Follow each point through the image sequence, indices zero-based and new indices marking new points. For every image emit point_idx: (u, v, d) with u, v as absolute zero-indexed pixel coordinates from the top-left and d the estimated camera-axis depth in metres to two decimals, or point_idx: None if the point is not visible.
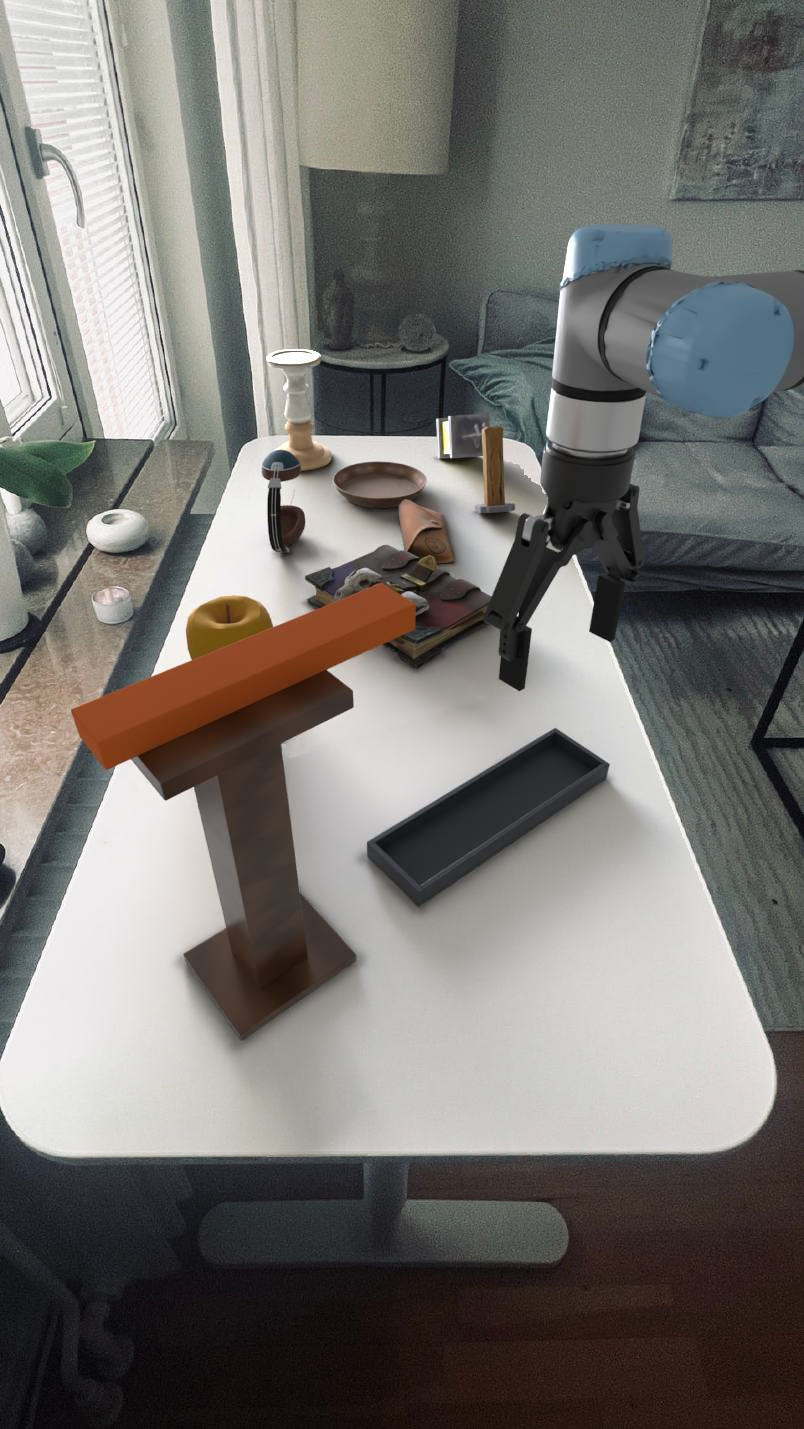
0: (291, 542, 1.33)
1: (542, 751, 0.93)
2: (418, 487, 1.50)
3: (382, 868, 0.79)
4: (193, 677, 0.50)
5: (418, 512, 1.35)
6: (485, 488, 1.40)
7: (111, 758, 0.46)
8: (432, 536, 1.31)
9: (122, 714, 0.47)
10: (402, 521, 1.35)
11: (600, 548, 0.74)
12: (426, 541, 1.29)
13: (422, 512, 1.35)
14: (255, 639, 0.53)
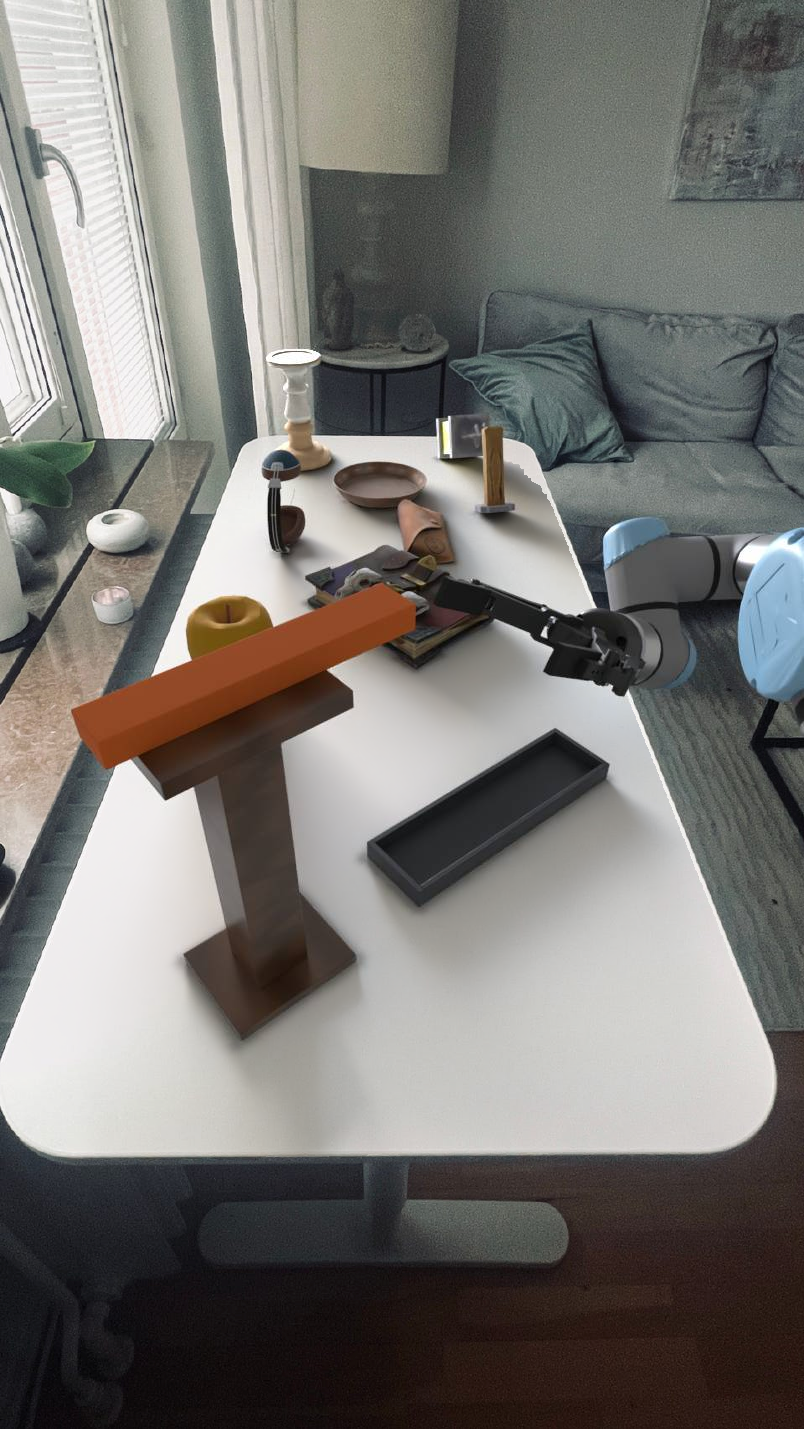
0: (291, 542, 1.33)
1: (542, 751, 0.93)
2: (418, 487, 1.50)
3: (382, 868, 0.79)
4: (193, 677, 0.50)
5: (417, 512, 1.35)
6: (485, 488, 1.40)
7: (111, 758, 0.46)
8: (432, 536, 1.31)
9: (122, 714, 0.47)
10: (401, 521, 1.35)
11: None
12: (426, 541, 1.29)
13: (422, 512, 1.35)
14: (255, 639, 0.53)
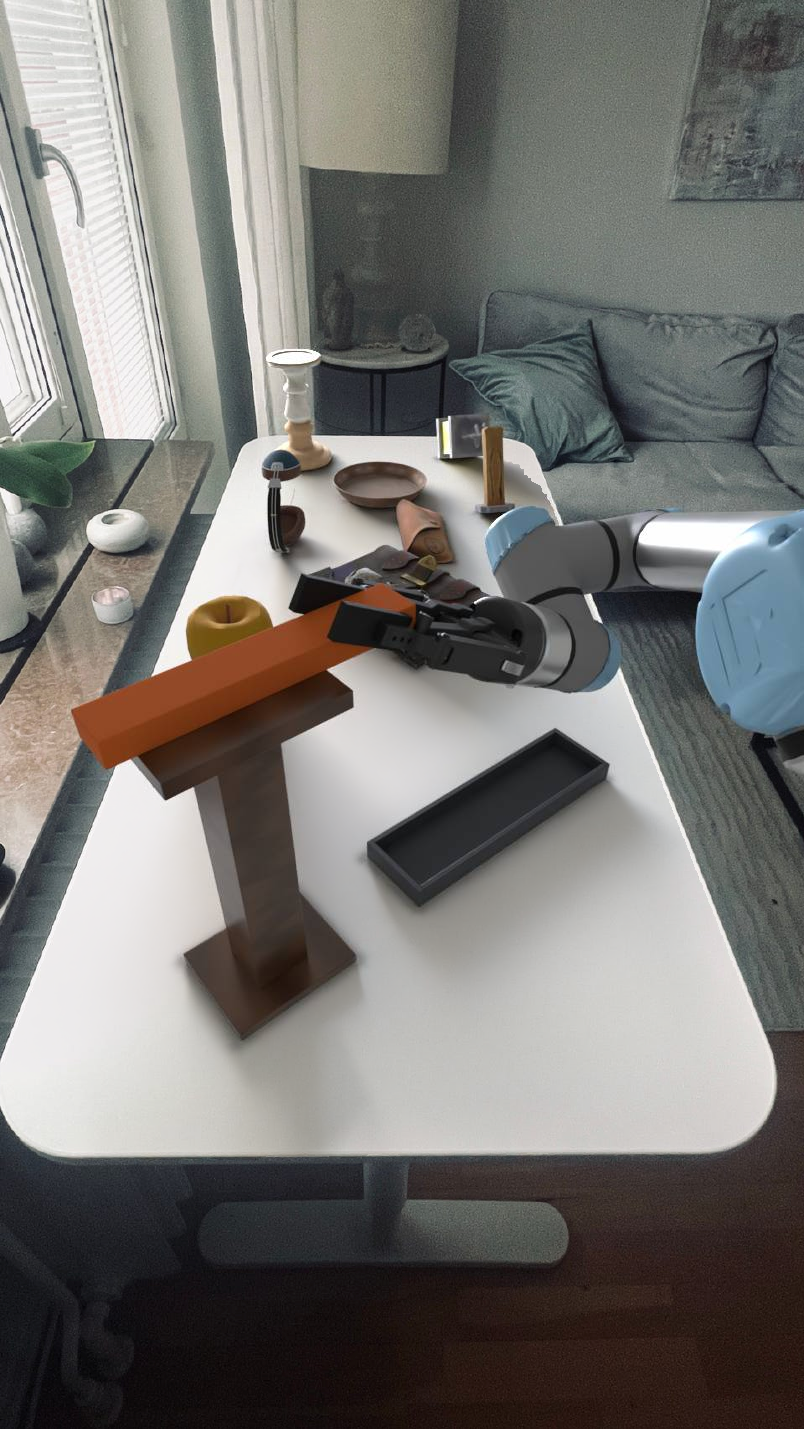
0: (291, 542, 1.33)
1: (542, 751, 0.93)
2: (418, 487, 1.50)
3: (382, 868, 0.79)
4: (193, 677, 0.50)
5: (416, 512, 1.35)
6: (485, 488, 1.40)
7: (111, 758, 0.46)
8: (431, 536, 1.31)
9: (122, 714, 0.47)
10: (400, 521, 1.35)
11: None
12: (425, 541, 1.29)
13: (421, 512, 1.35)
14: (255, 639, 0.53)
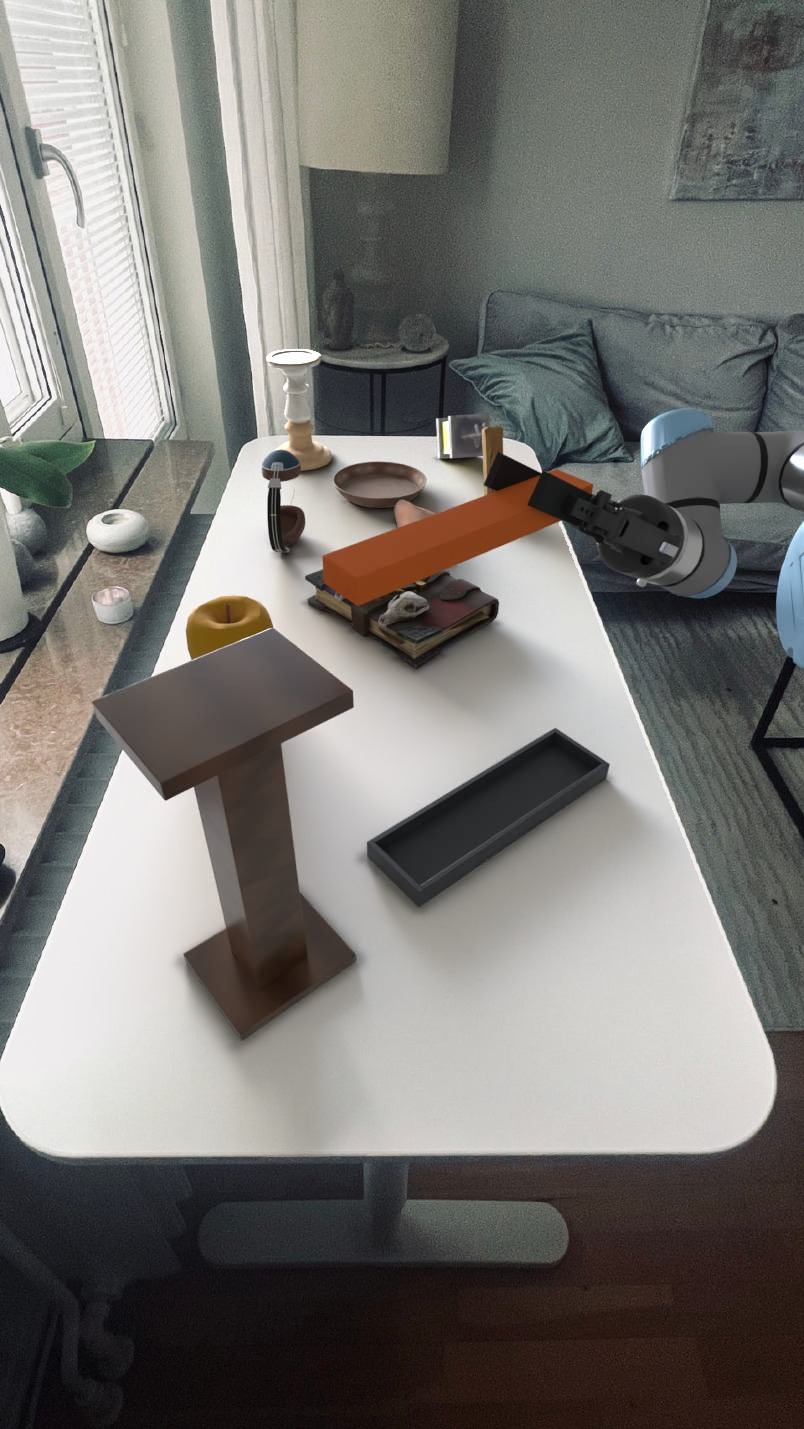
0: (291, 542, 1.33)
1: (542, 751, 0.93)
2: (418, 487, 1.50)
3: (382, 868, 0.79)
4: (419, 534, 0.57)
5: (415, 512, 1.35)
6: (485, 488, 1.40)
7: (363, 595, 0.53)
8: None
9: (369, 559, 0.54)
10: (399, 521, 1.35)
11: None
12: None
13: (419, 512, 1.35)
14: (461, 508, 0.60)
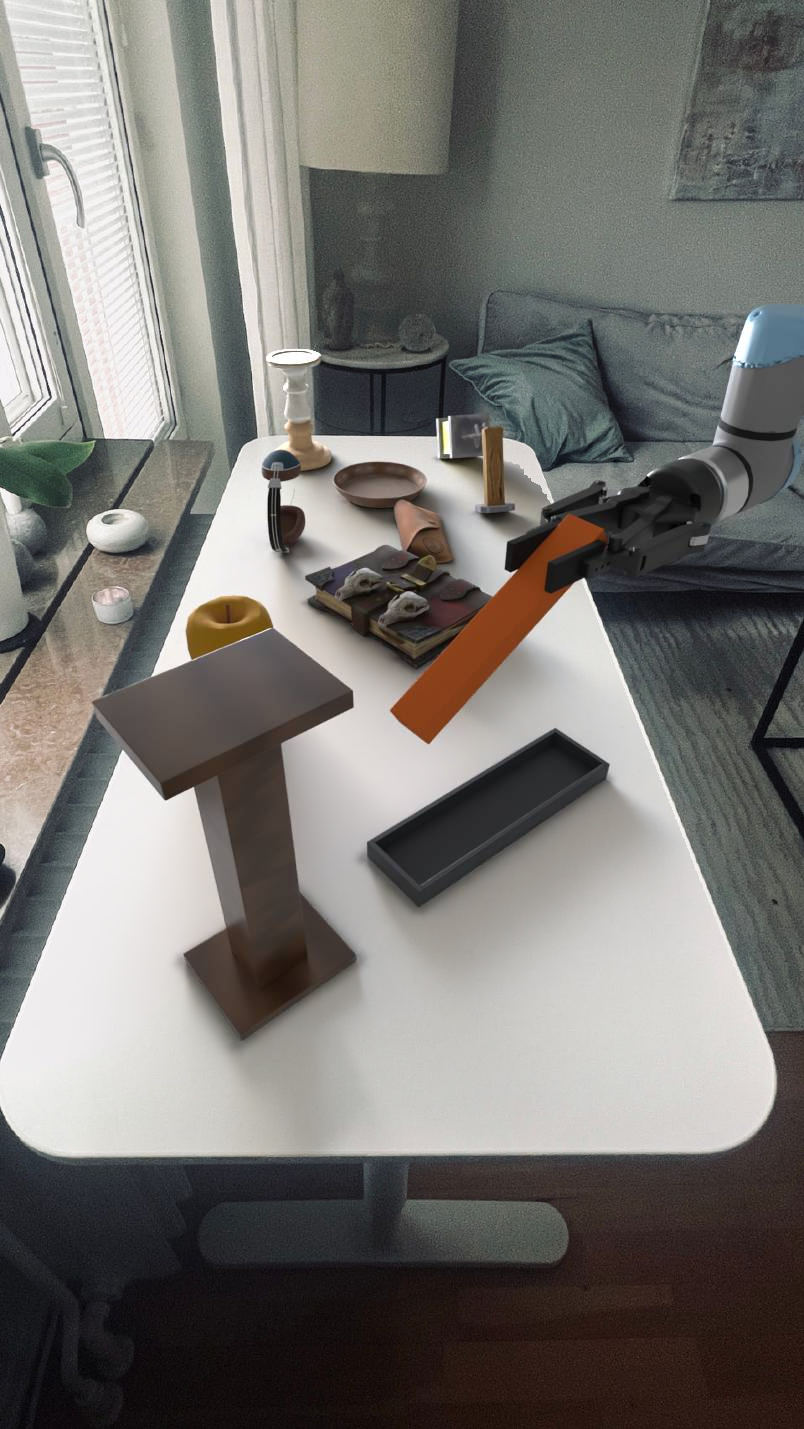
0: (291, 542, 1.33)
1: (542, 751, 0.93)
2: (418, 487, 1.50)
3: (382, 868, 0.79)
4: (459, 658, 0.67)
5: (414, 512, 1.35)
6: (485, 488, 1.40)
7: (429, 737, 0.67)
8: (430, 536, 1.31)
9: (425, 705, 0.67)
10: (399, 521, 1.35)
11: None
12: (424, 541, 1.29)
13: (419, 512, 1.35)
14: (489, 607, 0.69)
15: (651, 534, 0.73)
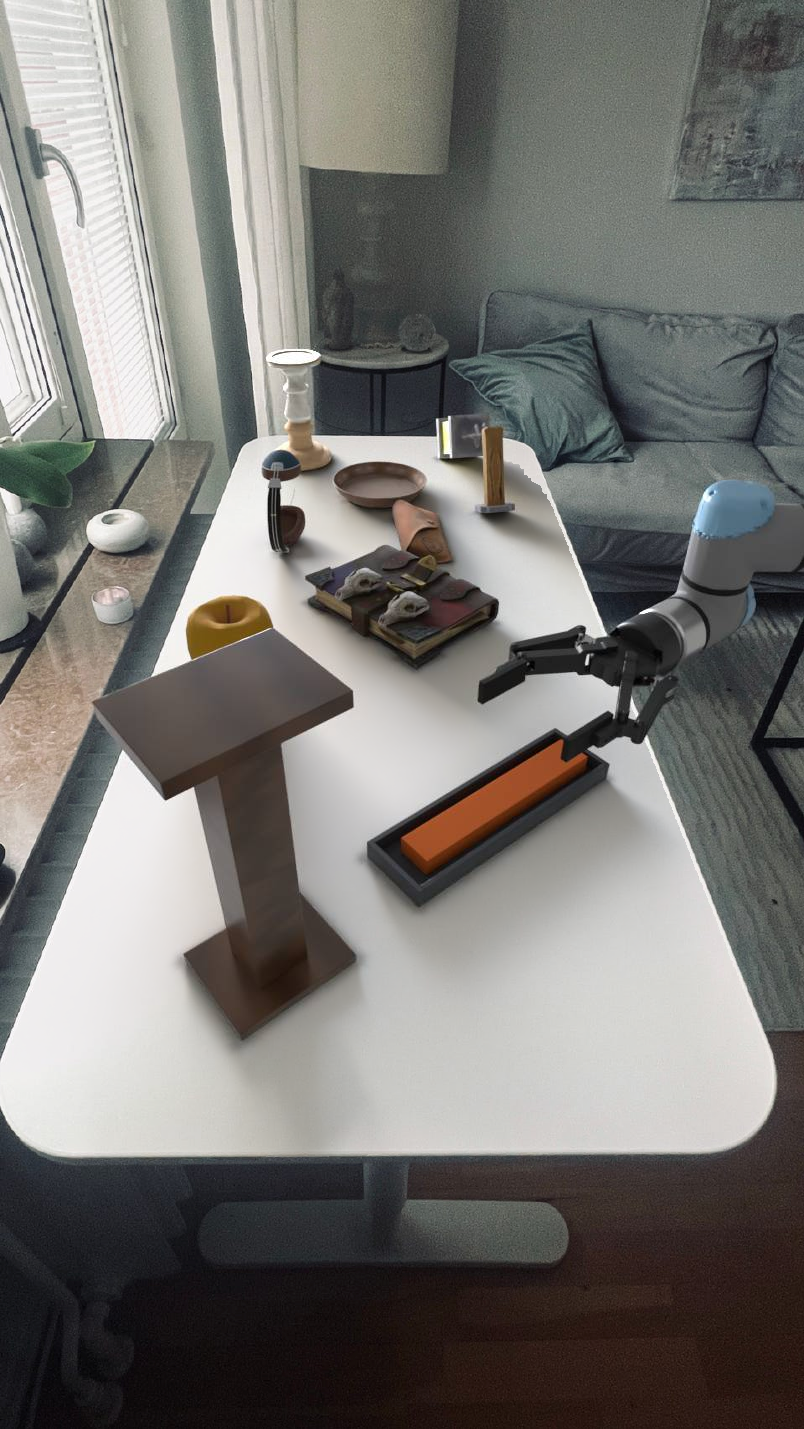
0: (291, 542, 1.33)
1: None
2: (418, 487, 1.50)
3: (382, 868, 0.79)
4: (466, 814, 0.82)
5: (413, 512, 1.35)
6: (485, 488, 1.40)
7: (430, 868, 0.78)
8: (429, 536, 1.31)
9: (433, 841, 0.79)
10: (398, 521, 1.34)
11: (618, 696, 0.82)
12: (424, 541, 1.29)
13: (418, 512, 1.35)
14: (494, 785, 0.85)
15: None
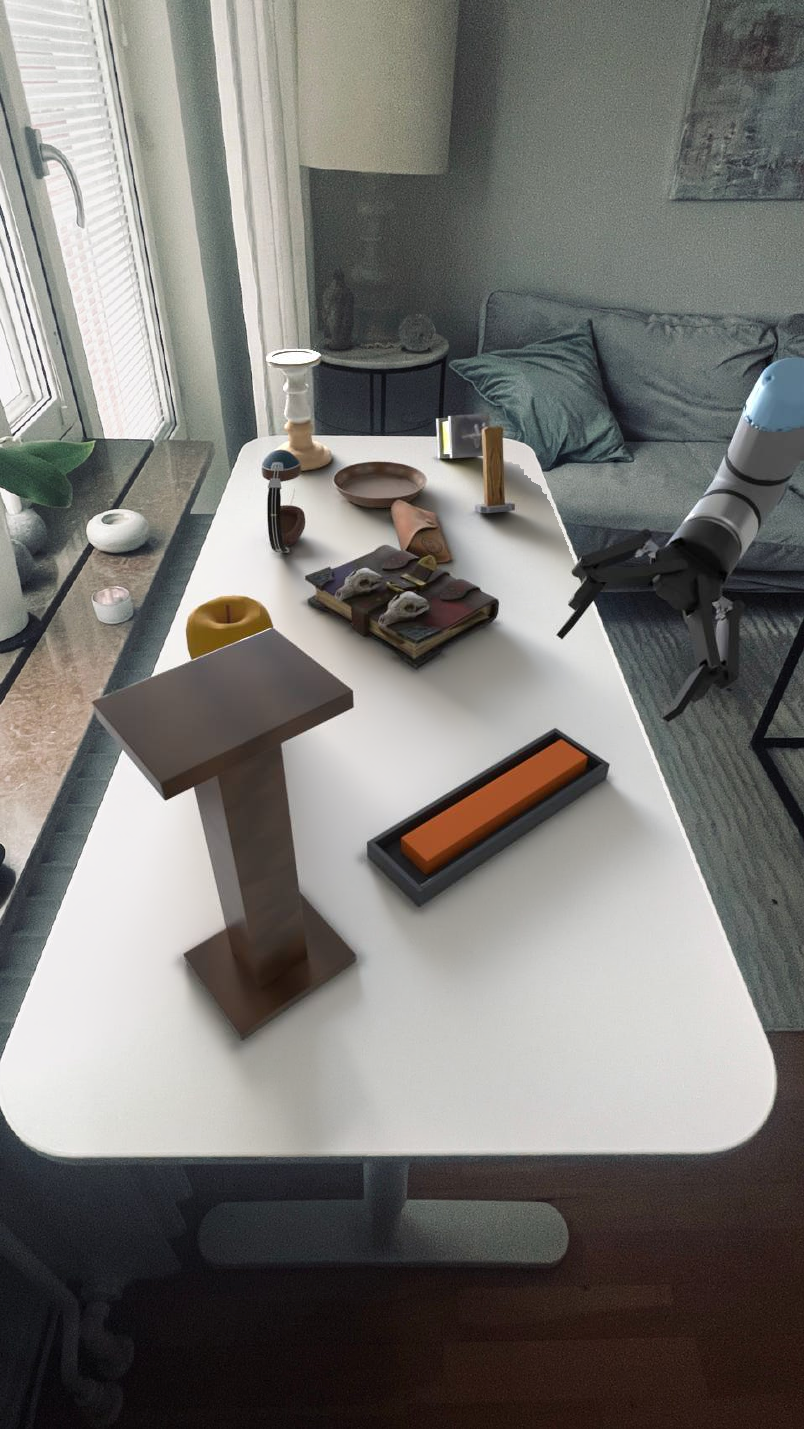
0: (291, 542, 1.33)
1: None
2: (418, 487, 1.50)
3: (382, 868, 0.79)
4: (466, 814, 0.82)
5: (412, 513, 1.35)
6: (485, 488, 1.40)
7: (430, 868, 0.78)
8: (428, 536, 1.31)
9: (433, 841, 0.79)
10: (397, 522, 1.34)
11: (695, 631, 0.83)
12: (423, 541, 1.29)
13: (417, 513, 1.35)
14: (494, 785, 0.85)
15: None
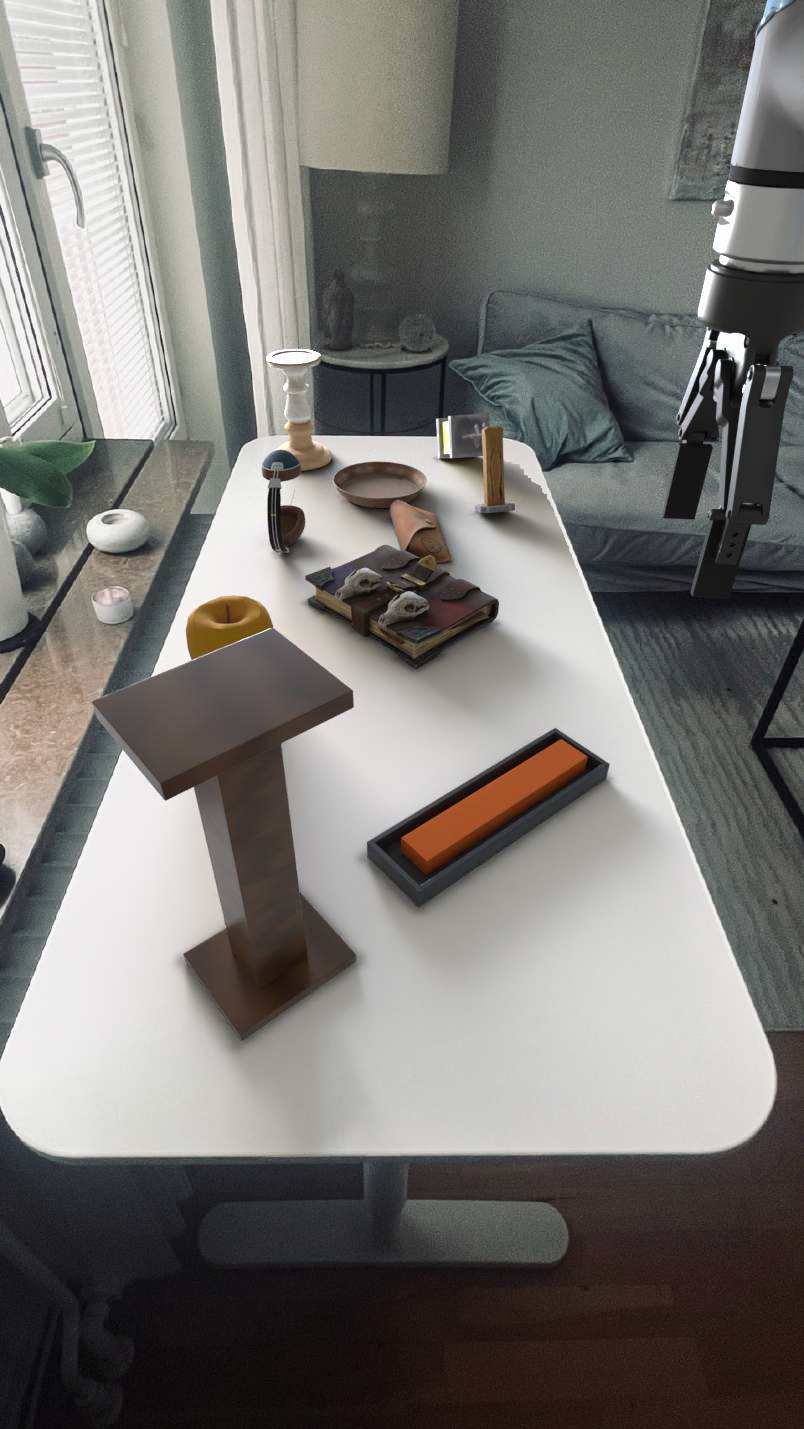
0: (291, 542, 1.33)
1: None
2: (418, 487, 1.50)
3: (382, 868, 0.79)
4: (466, 814, 0.82)
5: (411, 513, 1.35)
6: (486, 488, 1.40)
7: (430, 868, 0.78)
8: (427, 536, 1.31)
9: (433, 841, 0.79)
10: (396, 522, 1.34)
11: (712, 407, 0.62)
12: (423, 541, 1.29)
13: (416, 513, 1.35)
14: (494, 785, 0.85)
15: None
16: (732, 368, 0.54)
